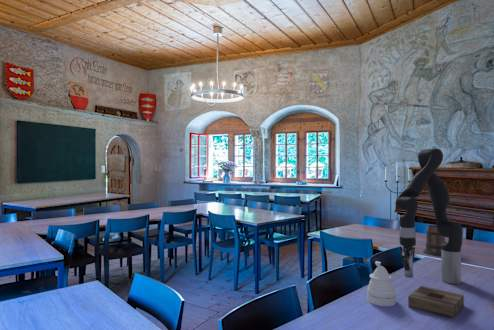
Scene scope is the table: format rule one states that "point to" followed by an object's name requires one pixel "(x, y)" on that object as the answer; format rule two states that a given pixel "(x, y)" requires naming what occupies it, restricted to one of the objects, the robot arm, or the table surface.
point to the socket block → (436, 301)
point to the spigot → (410, 272)
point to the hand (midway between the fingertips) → (408, 268)
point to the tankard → (433, 241)
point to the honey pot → (381, 287)
